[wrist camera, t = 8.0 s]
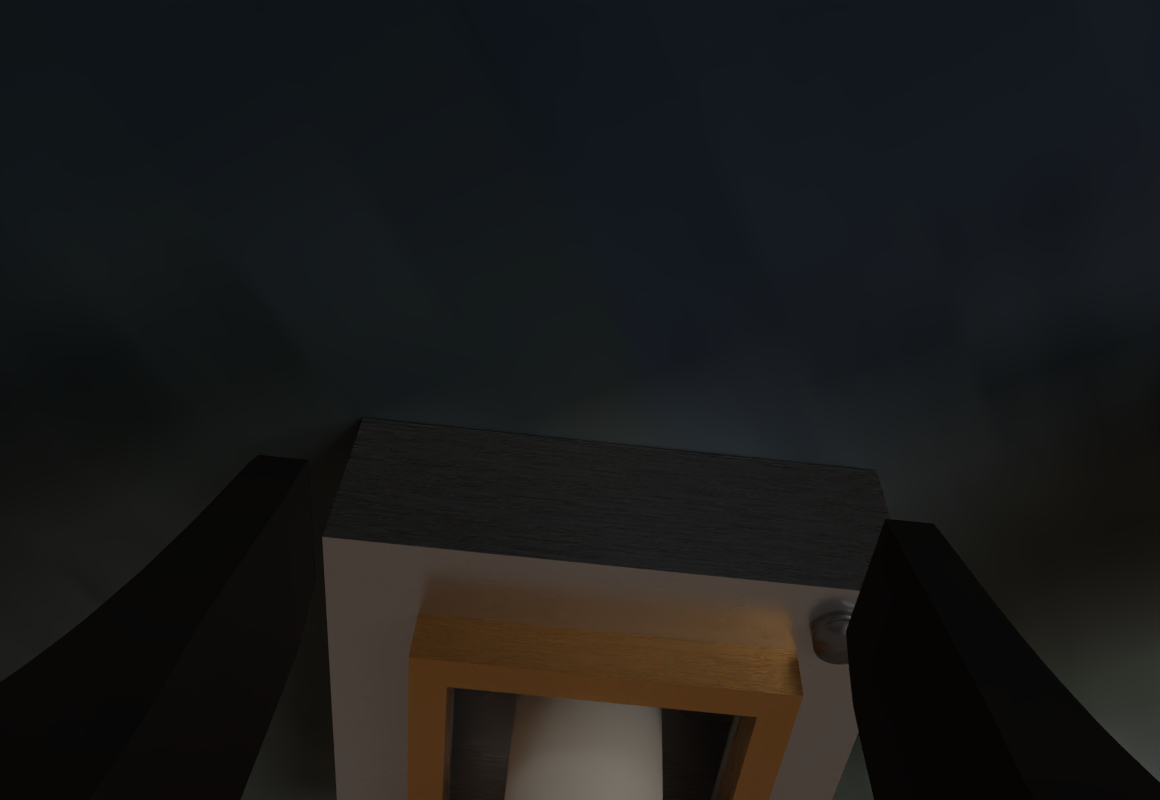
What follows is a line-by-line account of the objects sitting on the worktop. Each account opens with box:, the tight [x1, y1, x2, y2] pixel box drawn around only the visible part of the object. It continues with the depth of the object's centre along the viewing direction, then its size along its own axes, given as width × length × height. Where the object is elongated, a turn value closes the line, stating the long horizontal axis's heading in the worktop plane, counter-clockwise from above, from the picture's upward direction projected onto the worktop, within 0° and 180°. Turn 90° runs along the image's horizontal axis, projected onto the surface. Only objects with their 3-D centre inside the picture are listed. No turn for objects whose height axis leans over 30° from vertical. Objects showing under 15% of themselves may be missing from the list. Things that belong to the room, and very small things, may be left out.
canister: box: [504, 694, 663, 800], centre depth 26 cm, size 4×4×7 cm
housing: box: [322, 418, 890, 800], centre depth 27 cm, size 12×12×5 cm
